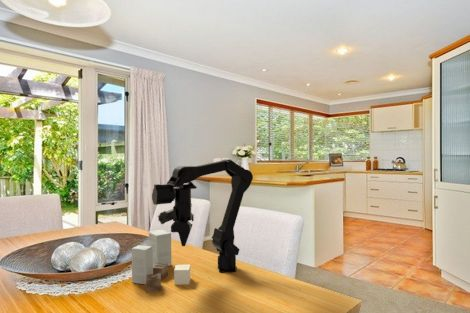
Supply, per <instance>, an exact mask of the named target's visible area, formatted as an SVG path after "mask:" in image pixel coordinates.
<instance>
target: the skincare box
mask: <svg viewBox="0 0 470 313" xmlns="http://www.w3.org/2000/svg"><path fill="white" fill-rule="evenodd" d="M150 274H153V247H152V246H149V245H142V244H138V245H136V246H134V247H132V248H131V283H133V284H139V285H140V284H141V285H146V277H147V275H150Z"/></svg>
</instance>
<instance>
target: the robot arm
mask: <svg viewBox="0 0 470 313" xmlns="http://www.w3.org/2000/svg"><path fill="white" fill-rule="evenodd" d="M224 171H225V172H226V174H227V176H229V177H230V179H231V180H230V184H231V192H230V196H229V198H228V202H227V206H226V209H225V212H224V215H223V219H222V222H221V224H220V226H219V227H218V228H217V227H215V228H214V230H213V234H212V236H211V239H212V240H211V242H212V245H213V247H214V248H215V250H216V252H219V255H218V256H217V269H218V272H219V273H229V272H231V273H232V272H234V273H235V272H237V265H236V264H237V262H236V261H237V258H236V256H239V253H240V248H239V247H238V246H237V245H236V244H234V243H235V230H234V229H235V224H236V222H237V218H238V215H239V211H240V209H241V204H242V202H243V197H244V194H245V192H246V191H247V190H248V189H249V188H250V186H251V184H252V182H253V179H254V176H253V175H254V174H253V173H252V172H251V171H250V170H249V169H245V168H244V167H243V166H241V165H239V164H237V163H236V162H235V161H233V160H232V159H222V160H220V161H215V162H208V163H204V164H200V165H196V166H195V165H194V166H193V165H189V166H188V165H184V166H183V165H182V166H181V165H180V166H176V167H174V169H173V171H172V175H171V176H170V178H169V180H168V181H167V182H166V184H165V183H164V184H156V183H155V184H153V190H152V192H151V200H152V201H151V202H152V204H153V205H155V206H156V205H157V206H158V205H167V204H172V203H173V202H174V205H173V207H172V209H169V210H164V211H161V212H159V214H158V215H157V217H158V222H160V225H164V224H165V223H168V222H170V221H173V223H172V224H171V226H170V233H178V237H179V240H180V244H181V247H185V246H187V242H188V240H189V235H190V234H191V230H192V227H193V223H191V222H194V220H195V215H194V214H193V213H192V205H193V204H192V190H195V189H198V187H197V186H196V185H195V184H194V181H196V180H197V179H199V178H200V177H203V176H207V175H211V174H216V173H220V172H221V173H222V172H224ZM190 221H191V222H190Z"/></svg>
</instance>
